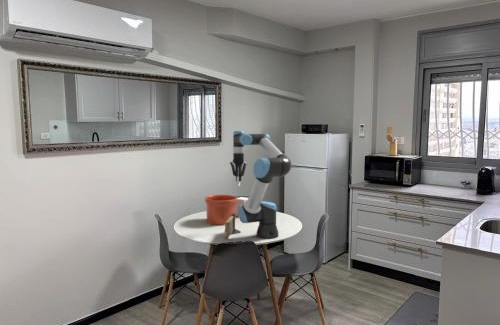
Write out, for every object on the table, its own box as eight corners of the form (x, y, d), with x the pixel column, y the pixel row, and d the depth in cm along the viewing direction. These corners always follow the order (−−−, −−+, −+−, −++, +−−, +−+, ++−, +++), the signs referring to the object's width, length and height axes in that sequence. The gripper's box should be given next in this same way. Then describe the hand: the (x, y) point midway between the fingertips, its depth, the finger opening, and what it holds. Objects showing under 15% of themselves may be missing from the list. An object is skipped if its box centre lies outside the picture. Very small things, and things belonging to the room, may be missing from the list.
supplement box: (244, 217, 299) (244, 199, 298) (234, 216, 304) (235, 198, 302) (249, 215, 307) (250, 197, 305) (240, 214, 311) (241, 196, 310)
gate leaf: (230, 230, 256) (230, 216, 254) (233, 231, 255) (233, 216, 254) (225, 238, 237) (225, 223, 236) (227, 239, 237) (227, 223, 236)
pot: (212, 216, 302) (212, 193, 300) (240, 218, 295) (241, 195, 293) (199, 224, 278) (199, 199, 276) (230, 227, 271) (230, 201, 269)
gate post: (234, 230, 263) (234, 211, 262) (240, 232, 256) (240, 213, 255) (224, 231, 258) (224, 213, 257) (230, 234, 252) (230, 215, 251)
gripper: (249, 152, 258) (249, 185, 261) (232, 152, 264) (232, 184, 266) (244, 153, 252) (244, 187, 254) (227, 152, 257) (227, 185, 259)
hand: (238, 185), depth 260 cm, fingers closed
